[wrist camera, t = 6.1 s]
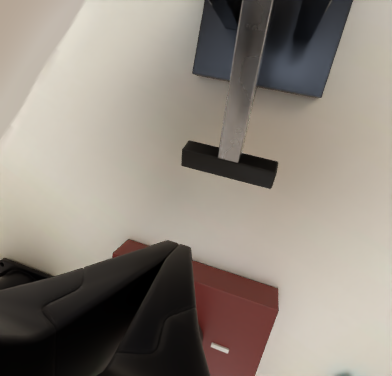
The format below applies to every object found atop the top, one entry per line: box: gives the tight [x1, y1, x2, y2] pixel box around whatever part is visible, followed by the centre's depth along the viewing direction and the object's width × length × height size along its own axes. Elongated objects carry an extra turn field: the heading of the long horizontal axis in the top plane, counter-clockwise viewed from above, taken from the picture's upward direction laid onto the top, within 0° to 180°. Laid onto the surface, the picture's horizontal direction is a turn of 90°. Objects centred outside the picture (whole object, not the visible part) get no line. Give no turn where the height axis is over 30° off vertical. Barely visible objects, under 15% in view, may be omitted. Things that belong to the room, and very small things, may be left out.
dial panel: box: [112, 239, 279, 376], centre depth 23 cm, size 13×10×3 cm
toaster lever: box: [181, 0, 278, 189], centre depth 11 cm, size 12×5×2 cm, turn 168°
